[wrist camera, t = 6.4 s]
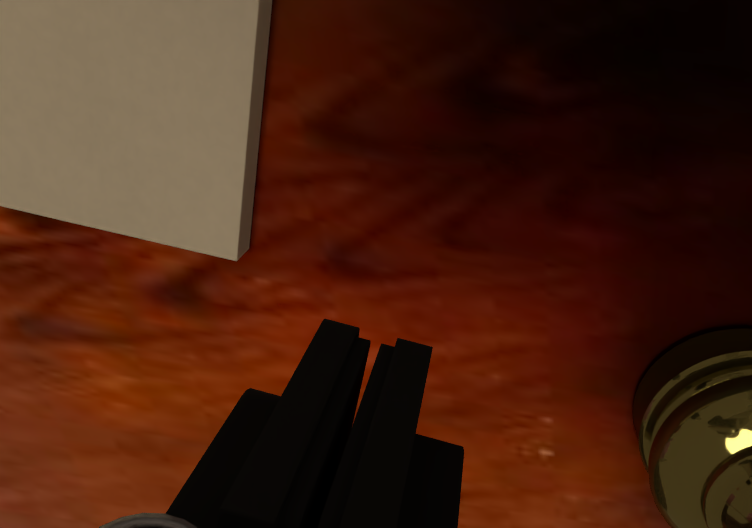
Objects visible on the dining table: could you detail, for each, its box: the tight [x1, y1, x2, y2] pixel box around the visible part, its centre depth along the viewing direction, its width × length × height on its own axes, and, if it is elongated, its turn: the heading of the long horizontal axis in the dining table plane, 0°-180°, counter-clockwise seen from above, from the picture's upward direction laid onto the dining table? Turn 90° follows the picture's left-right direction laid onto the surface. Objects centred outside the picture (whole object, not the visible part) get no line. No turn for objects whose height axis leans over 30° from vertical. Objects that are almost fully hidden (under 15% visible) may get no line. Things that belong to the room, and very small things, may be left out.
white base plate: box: [0, 0, 272, 261], centre depth 23 cm, size 16×14×3 cm
